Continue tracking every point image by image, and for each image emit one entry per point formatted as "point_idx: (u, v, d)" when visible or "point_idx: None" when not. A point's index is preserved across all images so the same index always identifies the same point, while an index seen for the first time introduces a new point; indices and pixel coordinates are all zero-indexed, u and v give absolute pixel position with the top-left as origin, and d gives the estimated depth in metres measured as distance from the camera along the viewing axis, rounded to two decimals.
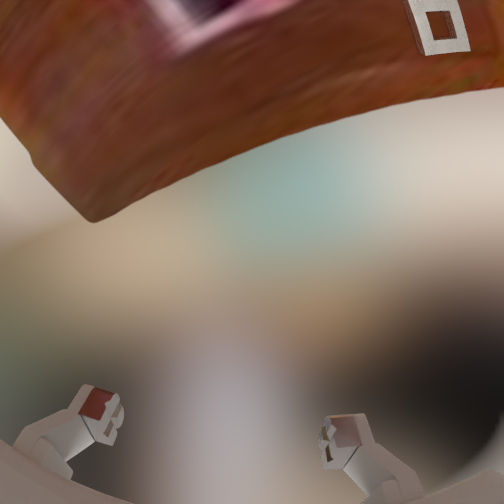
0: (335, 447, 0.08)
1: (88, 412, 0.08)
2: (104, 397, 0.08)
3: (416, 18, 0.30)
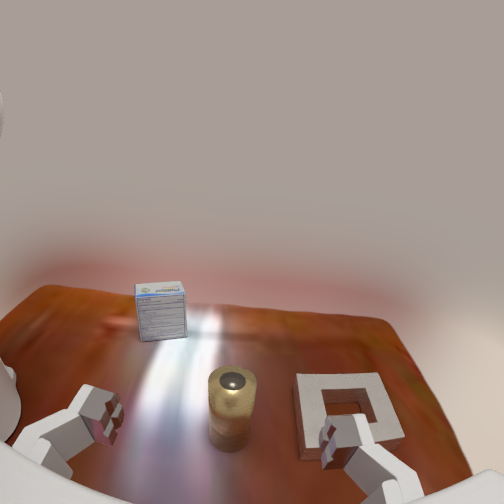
0: (335, 447, 0.08)
1: (88, 412, 0.08)
2: (104, 397, 0.08)
3: None
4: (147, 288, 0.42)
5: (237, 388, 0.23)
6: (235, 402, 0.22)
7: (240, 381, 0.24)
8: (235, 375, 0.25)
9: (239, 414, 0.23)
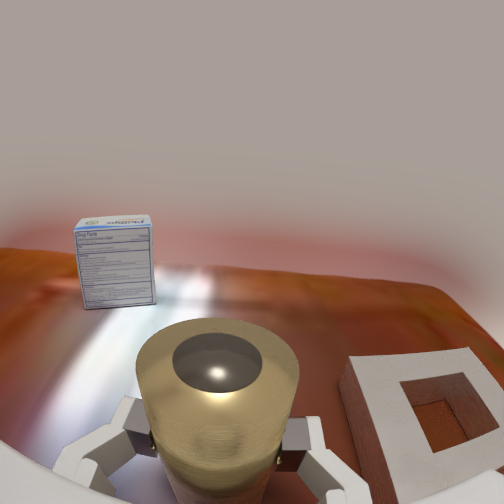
0: (281, 449, 0.07)
1: (134, 426, 0.08)
2: None
3: None
4: (96, 221, 0.25)
5: (233, 385, 0.06)
6: (226, 438, 0.05)
7: (244, 361, 0.07)
8: (227, 343, 0.08)
9: (241, 469, 0.06)
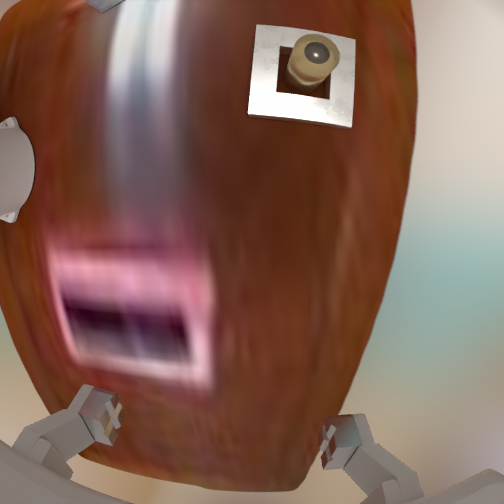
0: (335, 447, 0.08)
1: (88, 412, 0.08)
2: (104, 397, 0.08)
3: (285, 113, 0.29)
4: None
5: (322, 62, 0.21)
6: (319, 74, 0.22)
7: (324, 54, 0.21)
8: (319, 46, 0.21)
9: (320, 79, 0.24)
